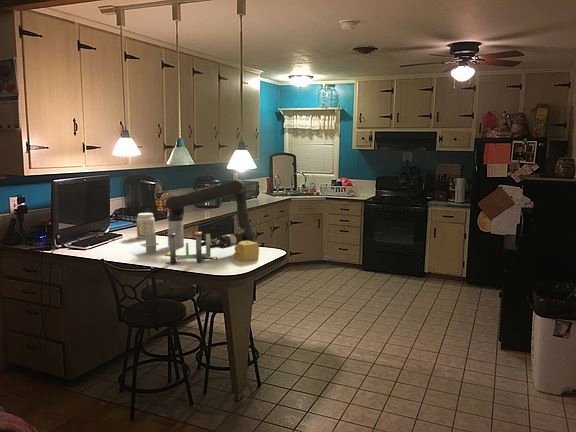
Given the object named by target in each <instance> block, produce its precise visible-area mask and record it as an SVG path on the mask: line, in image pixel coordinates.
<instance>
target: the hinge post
mask: <svg viewBox="0 0 576 432" xmlns="http://www.w3.org/2000/svg"><path fill="white" fill-rule="evenodd" d="M175 235H176V233H170V234H169V236H170V247H169V256H170V259H169V260H170V261H167V262H165V265H166V264H167V265H170V266H174V265H179V264H181V263H182V262H181V261H178V260H177V259H176V256H177V252H176V249H177V248H176V247H175Z"/></svg>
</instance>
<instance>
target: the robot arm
mask: <svg viewBox="0 0 576 432" xmlns="http://www.w3.org/2000/svg"><path fill="white" fill-rule="evenodd" d="M246 189H247V187H246V184H245V183H244V182H243V181H242V180H240V179H233V180H230V181H228V182H225V183H222V184H217V185H212V186H211V185H210V186H207V187H203V188H199V189H195V190H193V191H190V192H188V193H185V194H180V195H178V194H173V195H171V196H169V197H168V198H167V199H166V200H165V206H166V208H167V209H168V210H169V215H168V217H167V219H168V220H167V223H168V232H167V241H168V243H167V245H168V247H169V248H170V236H169V234H170V233H176V235H175V247H176V249H179V248H180V249H181V248H184V245H185V244H184V243H185V241H184V215H185V207H188V206H194V205H200V204H205V203H209V202H214V201H215V200H217V199H219V198H222V197H225V196H230V195H232V196H233V195H234V197H235V202H236V219H237V225H238V227H239V228H240V229H243V232H238V233H237V232H236V233H232V234H230V233H229V234H224V235H220V236H218V237H217V238H216V239H212V238H210V249H217V248H218V249H222V250H223V249H227V248H232V247H235V246H236V245H237V244H238V243H239V242H241V241H251V242H254V240H255V236H256V235H255V231H254V230H253V227H252V225H251V223H250V218H249V212H248V206H247V205H248V204H247V197H246V195H247V191H246ZM201 247H206V239H205V240H203V241H201Z"/></svg>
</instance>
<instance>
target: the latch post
mask: <svg viewBox="0 0 576 432" xmlns="http://www.w3.org/2000/svg"><path fill="white" fill-rule="evenodd" d="M194 235H195V254H196V258H195V260H196V262H195V263H196V264H202V262H203V260H202V254H203V252H202V251H203V250H202V246H201V242H202V235H203V232H202V231H195V232H194Z"/></svg>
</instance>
